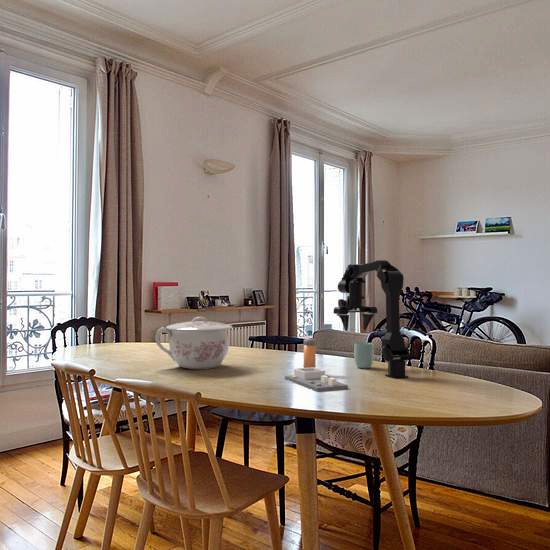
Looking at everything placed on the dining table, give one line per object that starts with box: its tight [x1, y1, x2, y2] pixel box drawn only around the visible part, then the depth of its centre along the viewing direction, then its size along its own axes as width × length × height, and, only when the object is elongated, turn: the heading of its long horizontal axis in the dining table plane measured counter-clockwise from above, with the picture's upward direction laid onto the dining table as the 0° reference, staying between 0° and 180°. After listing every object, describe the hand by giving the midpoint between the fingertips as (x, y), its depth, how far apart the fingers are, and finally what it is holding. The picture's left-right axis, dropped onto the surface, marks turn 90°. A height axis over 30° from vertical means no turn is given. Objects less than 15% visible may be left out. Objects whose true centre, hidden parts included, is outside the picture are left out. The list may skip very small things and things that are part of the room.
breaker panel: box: [284, 367, 349, 392], centre depth 196 cm, size 24×12×4 cm, turn 25°
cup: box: [353, 341, 375, 369], centre depth 230 cm, size 8×8×10 cm
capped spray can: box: [303, 338, 317, 368], centre depth 216 cm, size 5×5×13 cm
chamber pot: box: [154, 316, 234, 370], centre depth 230 cm, size 28×28×21 cm
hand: (355, 330), depth 236 cm, fingers open, 9 cm apart
